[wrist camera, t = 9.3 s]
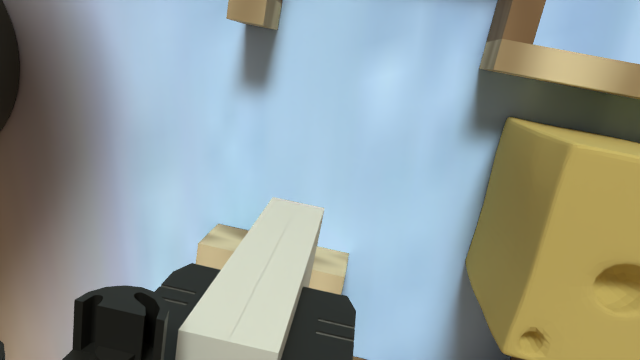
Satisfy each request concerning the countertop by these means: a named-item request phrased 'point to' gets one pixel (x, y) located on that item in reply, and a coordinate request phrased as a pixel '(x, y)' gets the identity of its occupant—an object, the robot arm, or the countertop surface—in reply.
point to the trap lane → (499, 56)
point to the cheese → (560, 245)
